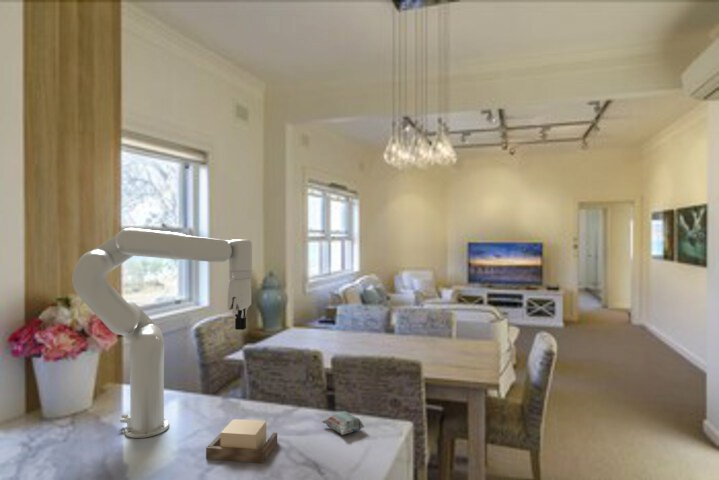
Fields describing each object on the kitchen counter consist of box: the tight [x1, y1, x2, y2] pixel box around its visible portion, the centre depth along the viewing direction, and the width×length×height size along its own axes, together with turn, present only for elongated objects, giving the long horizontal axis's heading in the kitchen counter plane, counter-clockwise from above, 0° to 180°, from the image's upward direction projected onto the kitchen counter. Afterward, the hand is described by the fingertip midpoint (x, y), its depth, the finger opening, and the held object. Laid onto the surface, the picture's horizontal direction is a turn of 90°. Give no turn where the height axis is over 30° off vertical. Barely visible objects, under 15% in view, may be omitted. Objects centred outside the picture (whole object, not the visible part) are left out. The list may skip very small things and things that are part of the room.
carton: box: [219, 418, 267, 450], centre depth 126 cm, size 10×9×7 cm
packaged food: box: [320, 410, 365, 436], centre depth 139 cm, size 9×12×5 cm
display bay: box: [205, 432, 278, 464], centre depth 126 cm, size 16×12×3 cm
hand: (240, 329), depth 151 cm, fingers closed
